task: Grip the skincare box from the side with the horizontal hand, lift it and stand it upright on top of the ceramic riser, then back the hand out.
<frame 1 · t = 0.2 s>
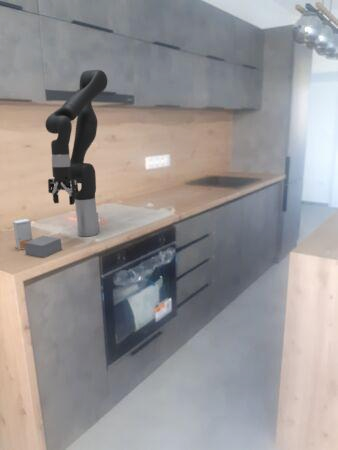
hand: (64, 203, 157), 18 cm above the countertop, tool pointing down, fingers open, 8 cm apart
skincare box: (25, 248, 157), on the countertop
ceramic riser: (44, 252, 151), on the countertop
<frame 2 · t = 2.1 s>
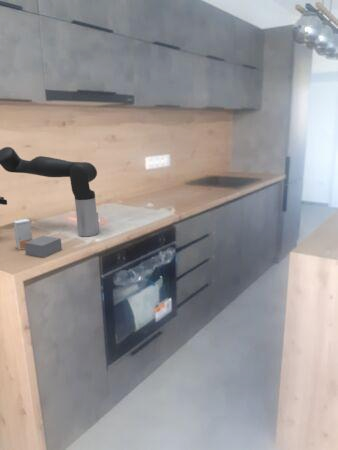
nothing on the countertop moved.
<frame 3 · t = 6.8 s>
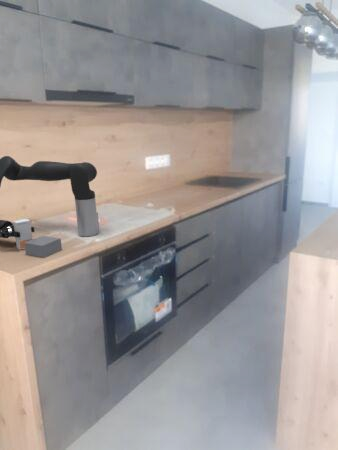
hand: (26, 232, 154), 7 cm above the countertop, tool horizontal, fingers closed on skincare box, 7 cm apart
skincare box: (25, 247, 157), on the countertop, touching gripper
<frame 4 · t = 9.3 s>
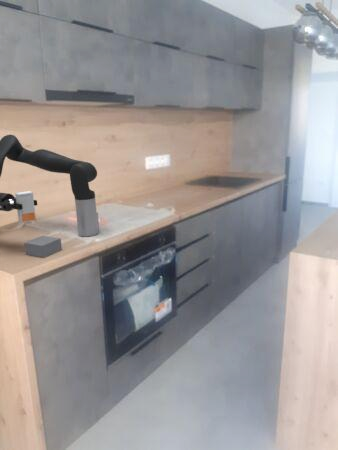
hand: (29, 204, 148), 19 cm above the countertop, tool horizontal, fingers closed on skincare box, 7 cm apart
skincare box: (27, 221, 151), point 12 cm above the countertop, touching gripper
when the fingers open (13 cm above the countertop, at t = 12.1 s): skincare box drops 1 cm, resting on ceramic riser.
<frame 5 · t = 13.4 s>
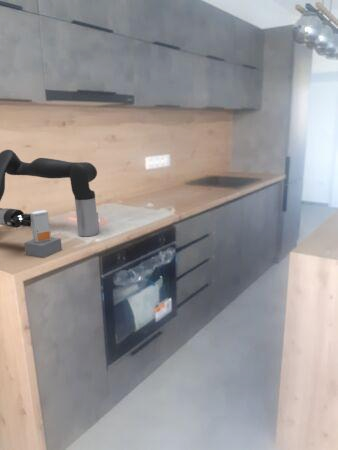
hand: (38, 221, 148), 13 cm above the countertop, tool horizontal, fingers open, 8 cm apart
skincare box: (42, 240, 150), point 5 cm above the countertop, touching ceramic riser, gripper
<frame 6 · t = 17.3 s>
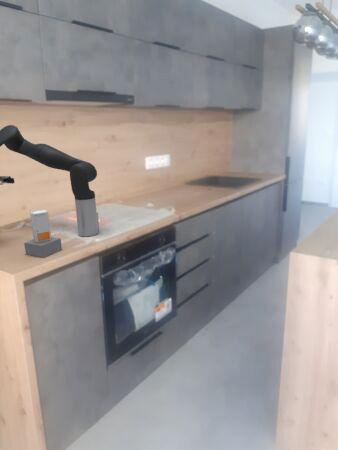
hand: (5, 182, 151), 28 cm above the countertop, tool horizontal, fingers open, 8 cm apart
skincare box: (42, 240, 150), point 5 cm above the countertop, touching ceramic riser
at the end: skincare box inside the target area on the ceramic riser (0.4 cm from its centre), point 4.8 cm above the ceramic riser's base; skincare box tilted 0°; the gripper is holding nothing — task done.
